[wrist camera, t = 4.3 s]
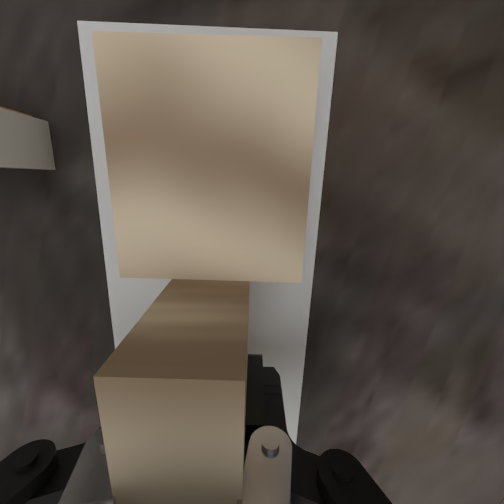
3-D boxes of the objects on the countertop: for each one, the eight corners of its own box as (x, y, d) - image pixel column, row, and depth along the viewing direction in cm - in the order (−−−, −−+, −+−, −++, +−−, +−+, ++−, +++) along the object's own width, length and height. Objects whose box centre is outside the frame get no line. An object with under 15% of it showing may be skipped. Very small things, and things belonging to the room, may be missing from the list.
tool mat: (334, 37, 11) (338, 32, 10) (291, 468, 17) (292, 475, 16) (83, 26, 11) (77, 20, 10) (131, 464, 17) (129, 471, 16)
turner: (281, 484, 14) (300, 693, 9) (151, 481, 14) (81, 687, 9) (316, 49, 9) (432, -191, 3) (105, 43, 9) (-174, -207, 3)
